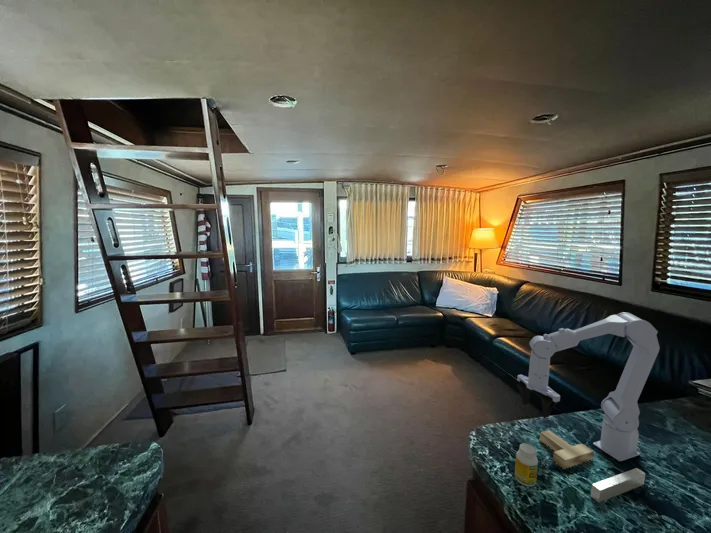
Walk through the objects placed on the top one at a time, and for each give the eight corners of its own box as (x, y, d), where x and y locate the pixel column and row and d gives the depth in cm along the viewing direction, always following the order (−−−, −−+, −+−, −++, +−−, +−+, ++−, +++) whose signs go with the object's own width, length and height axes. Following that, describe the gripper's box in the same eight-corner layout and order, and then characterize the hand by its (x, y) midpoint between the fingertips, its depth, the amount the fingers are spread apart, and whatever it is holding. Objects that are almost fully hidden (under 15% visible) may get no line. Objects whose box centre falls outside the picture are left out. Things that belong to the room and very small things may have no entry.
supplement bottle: (520, 469, 89) (523, 438, 88) (539, 481, 84) (543, 450, 83) (510, 477, 86) (513, 446, 85) (529, 490, 81) (532, 458, 80)
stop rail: (635, 479, 86) (636, 467, 85) (643, 484, 84) (645, 473, 83) (590, 496, 80) (591, 484, 80) (598, 502, 78) (600, 490, 78)
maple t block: (557, 435, 103) (557, 427, 103) (592, 460, 93) (593, 451, 92) (530, 443, 100) (530, 434, 99) (563, 469, 89) (564, 460, 88)
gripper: (511, 364, 107) (508, 400, 109) (550, 384, 93) (546, 425, 95) (527, 362, 109) (523, 397, 111) (566, 381, 96) (562, 421, 97)
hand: (535, 410), depth 103 cm, fingers open, 7 cm apart
